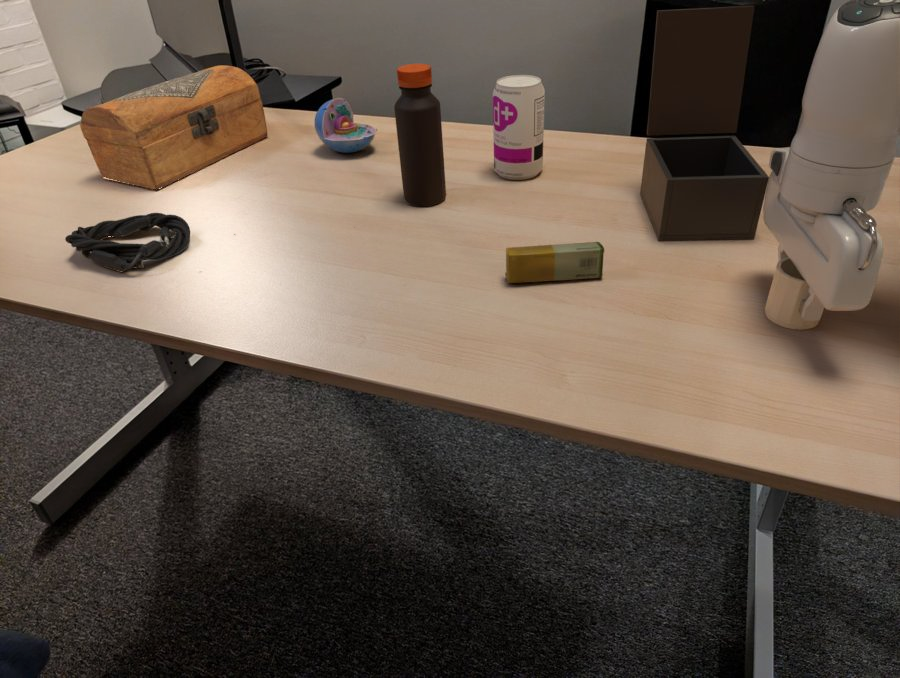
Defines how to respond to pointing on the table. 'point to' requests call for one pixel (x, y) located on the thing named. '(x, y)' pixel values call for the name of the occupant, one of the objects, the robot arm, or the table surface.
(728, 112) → the dark brown box lid
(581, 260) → the medication box
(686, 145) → the open topped square crate
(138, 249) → the cable
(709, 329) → the table surface
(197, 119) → the wooden box
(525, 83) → the supplement can
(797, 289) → the creamer cup
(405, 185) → the bottle
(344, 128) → the cell model
